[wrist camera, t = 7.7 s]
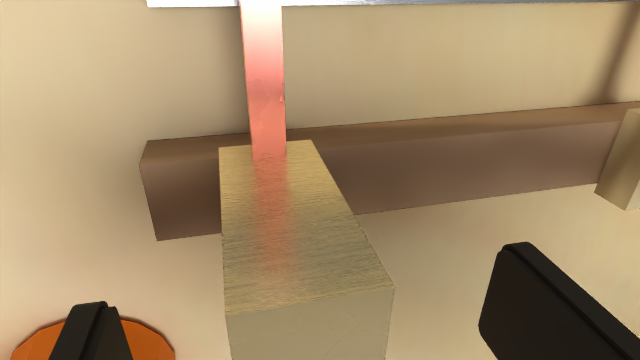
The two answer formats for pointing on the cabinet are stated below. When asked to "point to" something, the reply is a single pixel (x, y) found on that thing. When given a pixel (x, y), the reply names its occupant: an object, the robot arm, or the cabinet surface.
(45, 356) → the spray bottle
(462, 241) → the cabinet surface
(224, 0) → the bolt plate
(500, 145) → the beam
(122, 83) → the cabinet surface
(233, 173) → the slider
